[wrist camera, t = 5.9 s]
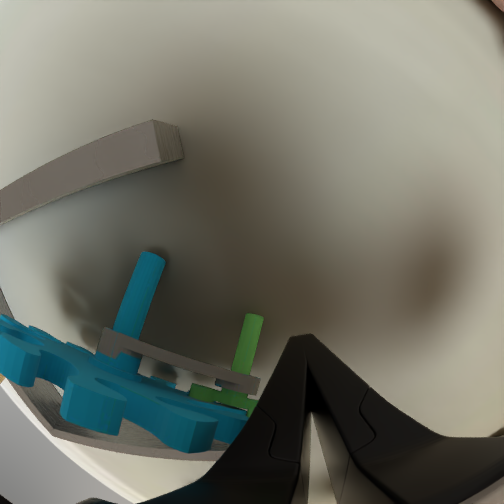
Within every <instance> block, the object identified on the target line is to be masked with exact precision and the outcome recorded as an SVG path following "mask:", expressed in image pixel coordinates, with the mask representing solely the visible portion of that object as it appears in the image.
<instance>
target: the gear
mask: <svg viewBox="0 0 504 504" xmlns="http://www.w3.org/2000/svg"><path fill="white" fill-rule="evenodd" d="M165 264H166V262H165V260H164V259H163V258H161V257H160V256H158V255H156V254H153V253H150V252H142V253H141V255H140V257H139V260H138V262H137V265H136V267H135V269H134V272H133V274H132V277H131V279H130V282H129V285H128V287H127V290H126V292H125V295H124V298H123V300H122V303H121V306H120V309H119V311H118V314H117V317H116V320H115V323H114V326H113V329H109V328H107V327H104V329H103V332H102V335H101V338H100V341H99V344H98V347H97V350H96V354H95V355H94V354H92V353H91V352H90V351H88V350H86V349H84V348H82V347H80V346H77V345H75V344H72V343H70V342H67V343H66V344H65V343H63V342H61V341H60V340H58V339H56V338H54V337H53V336H51V335H50V334H48V333H46V332H44V331H43V330H41V329H38V328H36V327H33V326H30V325H29V328H27V327H26V326H24V325H22V324H21V323H19V322H18V321H16V320H14V319H13V318H11V317H9V316H7V315H4V314H1V316H0V373H1V374H2V375H3V376H5V377H6V378H8V379H9V380H10V381H12V382H14V383H15V384H17V385H20V386H23V387H33V386H34V382H35V378H36V377H37V378H41V379H44V380H46V381H49V382H51V383H53V384H55V385H57V386H59V387H60V388H62V389H63V390H64V394H63V399H62V403H61V408H60V415H61V416H62V417H63V418H64V419H65V420H66V421H68V422H71V423H73V424H76V425H78V426H81V427H84V428H87V429H90V430H93V431H96V432H100V433H104V434H108V435H114V436H118V434H119V430H120V426H121V422H122V418H125V419H127V420H129V421H131V422H132V423H134V424H136V425H138V426H140V427H142V428H144V429H145V430H147V431H149V432H150V433H152V434H153V435H154V436H156V437H157V438H158V439H159V440H160V441H161V442H163V443H164V444H165V445H167V446H169V447H171V448H173V449H175V450H178V451H180V452H184V453H187V454H191V453H201V452H206V451H209V450H210V449H211V446H212V442H213V439H215V440H218V441H221V442H224V443H228V444H231V443H232V442H233V441H234V439H235V438H236V437H237V435H238V434H239V432H240V431H241V430H242V428H243V427H244V425H245V424H246V422H247V420H248V419H249V417H250V415H251V413H252V412H253V410H254V408H255V407H256V404H257V402H258V401H259V400H253V399H249V398H247V396H248V394H250V395H256V394H257V391H258V387H259V383H260V379H261V378H258V377H254V376H250V371H251V367H252V363H253V359H254V355H255V351H256V347H257V344H258V340H259V336H260V332H261V328H262V324H263V320H264V318H263V317H262V316H259V315H256V314H251V313H247V314H246V316H245V319H244V323H243V327H242V331H241V334H240V338H239V342H238V345H237V349H236V353H235V357H234V360H233V364H232V368H231V370H227V369H224V368H220V367H217V366H213V365H210V364H206V363H203V362H200V361H197V360H193V359H190V358H187V357H184V356H181V355H178V354H175V353H172V352H169V351H166V350H164V349H161V348H158V347H155V346H152V345H150V344H147V343H144V342H142V341H139V337H140V334H141V331H142V328H143V325H144V322H145V319H146V316H147V313H148V310H149V307H150V304H151V301H152V299H153V296H154V293H155V290H156V288H157V285H158V282H159V279H160V277H161V274H162V272H163V269H164V266H165ZM143 355H145V356H148V357H151V358H153V359H156V360H159V361H162V362H165V363H168V364H171V365H174V366H177V367H180V368H183V369H186V370H190V371H193V372H196V373H199V374H203V375H206V376H210V377H213V378H216V381H215V385H216V386H219V387H222V390H221V391H218V390H215V389H212V388H209V387H206V386H202V385H199V384H194V383H192V385H191V388H190V390H188V392H184V391H181V390H177V389H175V387H176V384H175V383H172V382H169V381H166V380H163V379H160V378H157V377H154V376H151V377H150V378H148V377H145V376H142V375H140V374H139V373H137V372H138V369H139V366H140V362H141V359H142V356H143ZM216 401H217V402H216ZM218 402H220V403H218ZM237 407H239V408H237ZM240 408H243V409H248V411H245V410H243V409H240ZM246 413H247V415H246Z"/></svg>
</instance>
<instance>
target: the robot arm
mask: <svg viewBox="0 0 504 504" xmlns="http://www.w3.org/2000/svg"><path fill="white" fill-rule="evenodd" d="M311 412H312V416H313V419H314V423H315V426H316V430H317V433H318V437H319V440H320V444H321V447H322V451H323V455H324V458H325V462H326V465H327V469H328V472H329V476H330V480H331V483H332V487H333V490H334V494H335V498H336V501H337V504H504V436H503V437H447V436H443V435H440V434H438V433H435V432H434V431H432V430H430V429H428V428H427V427H425V426H424V425H422V424H420V423H419V422H417V421H416V420H414V419H413V418H411V417H409V416H408V415H406V414H405V413H403V412H402V411H400V410H399V409H397V408H396V407H395V406H393V405H392V404H390V403H389V402H388V401H386V400H385V399H384V398H383V397H382V396H380V395H379V394H378V393H377V392H376V391H375V390H374V389H372V388H371V387H370V386H369V385H368V384H367V383H366V382H365V381H363V380H362V379H361V378H360V377H359V376H358V375H357V374H356V373H355V372H353V371H352V370H351V369H350V368H349V367H348V366H347V365H346V364H345V363H343V362H342V361H341V360H340V359H339V358H338V357H337V356H336V355H335V354H334V353H332V352H331V351H330V350H329V349H328V348H327V347H326V346H325V345H324V344H323V343H322V342H320V341H319V340H318V339H317V338H316V337H315V336H314V335H313V334H304V335H298V336H292V337H290V338H289V340H288V343H287V345H286V347H285V349H284V351H283V353H282V355H281V357H280V359H279V361H278V363H277V365H276V367H275V369H274V371H273V373H272V375H271V377H270V379H269V381H268V383H267V385H266V387H265V389H264V391H263V393H262V395H261V397H260V399H259V401H258V402H257V404H256V407H255V408H254V410H253V412H252V413H251V415H250V417H249V419H248V420H247V422H246V424H245V425H244V427H243V428H242V430H241V431H240V432H239V434H238V435H237V437H236V438H235V439H234V441H233V442H232V443H231V444H230V446H229V447H228V448H227V449H226V451H225V452H224V453H223V454H222V456H221V457H220V458H219V459H218V460H217V462H216V463H215V464H214V465H213V466H212V467H211V469H210V470H209V471H208V472H207V473H206V474H205V475H204V476H202V477H201V478H200V479H198V480H197V481H195V482H193V483H191V484H189V485H187V486H184V487H182V488H179V489H177V490H174V491H172V492H169V493H167V494H164V495H161V496H159V497H156V498H153V499H150V500H147V501H144V502H141V503H137V504H308V489H309V471H310V445H311ZM0 504H12V503H11V502H9V501H8V500H7V499H5V498H4V497H3V496H1V495H0ZM76 504H116V503H112V502H108V501H105V500H102V499H98V498H88V499H86V500H83V501H81V502H78V503H76Z"/></svg>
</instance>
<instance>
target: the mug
mask: <svg viewBox="0 0 504 504" xmlns="http://www.w3.org/2000/svg"><path fill="white" fill-rule="evenodd" d="M491 1H492V2H493V3H494V4H495V5H496V6H497V7H498V8H499V9H500V10H501V11H503V12H504V0H491Z"/></svg>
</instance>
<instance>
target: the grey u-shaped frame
mask: <svg viewBox="0 0 504 504" xmlns="http://www.w3.org/2000/svg"><path fill="white" fill-rule="evenodd" d="M183 158H184V156H183V151H182V146H181V141H180V136H179V131H178V126H175V125H171V124H167V123H164V122H160V121H156V120H150V121H147V122H144V123H141V124H138V125H135V126H132V127H129V128H127V129H124V130H121V131H119V132H116V133H113V134H111V135H108V136H106V137H103V138H101V139H98V140H96V141H94V142H91V143H89V144H87V145H84V146H82V147H80V148H78V149H76V150H73V151H71V152H69V153H67V154H65V155H63V156H61V157H59V158H57V159H55V160H53V161H51V162H49V163H47V164H45V165H43V166H41V167H39V168H37V169H36V170H34V171H32V172H30V173H28V174H27V175H25V176H23V177H21V178H20V179H18V180H16V181H14V182H13V183H11V184H10V185H8V186H6V187H5V188H3V189H1V190H0V225H2V224H4V223H6V222H8V221H10V220H12V219H14V218H16V217H19V216H21V215H23V214H25V213H27V212H29V211H32V210H34V209H36V208H39V207H41V206H43V205H45V204H48V203H50V202H53V201H55V200H58V199H60V198H62V197H65V196H68V195H70V194H73V193H75V192H78V191H81V190H83V189H86V188H89V187H91V186H94V185H97V184H100V183H103V182H106V181H109V180H112V179H115V178H118V177H121V176H124V175H127V174H130V173H133V172H137V171H140V170H143V169H147V168H150V167H153V166H157V165H161V164H164V163H168V162H171V161H175V160H179V159H183ZM1 314H4V315H7V316H9V317H11V318H13V316H12V314H11V312H10V310H9V308H8V305H7V303H6V301H5V299H4V296H3V294H2V292H1V289H0V316H1ZM13 319H14V318H13ZM4 379H5V376H3V375H2V374H1V373H0V384H1V382H2V381H3V380H4ZM7 379H8V378H7ZM8 381H9V382H10V384H11V385H12V386H13V388H14V389H15V391H16V392H17V393H18V395H19V396H20V397H21V399H22V400H23V401H24V403H25V404H26V405H27V407H28V408H29V409H30V410H31V412H32V413H33V414H34V415H35V416H36V418H37V419H38V420H39V421H40V422H41V423H42V425H43V426H44V427H45V428H46V429H47V430H48V431H49V433H50V434H51V435H52V436H54V437H57V438H61V439H64V440H67V441H71V442H75V443H78V444H82V445H86V446H91V447H95V448H99V449H104V450H109V451H114V452H120V453H126V454H132V455H139V456H146V457H155V458H164V459H177V460H195V461H217V460H218V459H219V458H220V457H221V456H222V454H223V453H224V452H225V451H226V449H227V448H228V447H229V446H230V444H228V443H224V442H221V441H218V440H215V439H213V442H212V446H211V449H210V450H209V451H206V452H201V453H191V454H187V453H184V452H180V451H178V450H175V449H173V448H171V447H169V446H167V445H165V444H164V443H163V442H161V441H160V440H159V439H158V438H157V437H156V436H154V435H153V434H152V433H150V432H149V431H147V430H145V429H144V428H142V427H140V426H138V425H136V424H134V423H132V422H131V421H129V420H127V419H125V418H122V422H121V426H120V430H119V434H118V436H114V435H108V434H104V433H100V432H96V431H93V430H90V429H87V428H84V427H81V426H78V425H76V424H73V423H71V422H68V421H66V420H65V419H64V418H63V417H62V416H61V415H60V408H61V403H62V397H61V396H60V395H59V393H58V392H57V391H56V389H55V388H54V386H53V385H52V383H51V382H49V381H46V380H44V379H41V378H37V377H36V378H35V382H34V386H33V387H23V386H20V385H17V384H15V383H14V382H12V381H10V380H9V379H8ZM246 415H247V414H246Z"/></svg>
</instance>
